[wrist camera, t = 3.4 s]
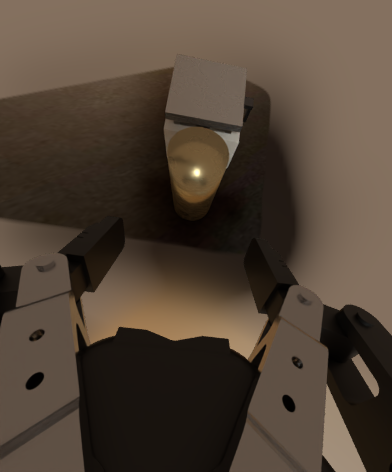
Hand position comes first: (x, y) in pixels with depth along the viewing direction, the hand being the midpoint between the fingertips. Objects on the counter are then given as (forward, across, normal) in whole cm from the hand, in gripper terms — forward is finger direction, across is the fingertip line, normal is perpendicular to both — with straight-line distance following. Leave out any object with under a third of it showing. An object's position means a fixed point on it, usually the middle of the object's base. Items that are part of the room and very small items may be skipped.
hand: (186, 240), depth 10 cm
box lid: (+19, -1, -7) cm, 20 cm away
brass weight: (+13, 0, +3) cm, 13 cm away
